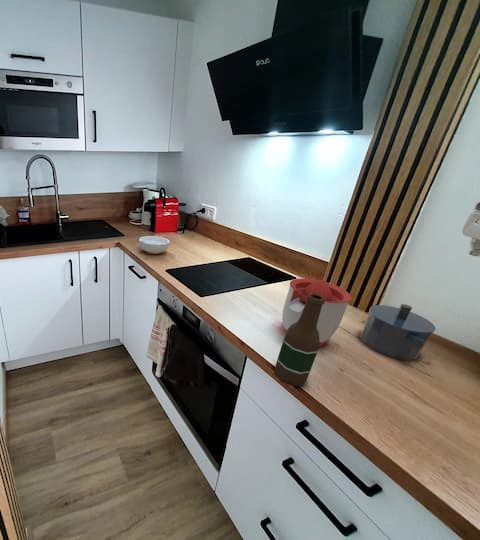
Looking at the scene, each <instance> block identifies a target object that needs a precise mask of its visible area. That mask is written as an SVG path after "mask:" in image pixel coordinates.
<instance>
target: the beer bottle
mask: <svg viewBox="0 0 480 540" xmlns="http://www.w3.org/2000/svg"><path fill="white" fill-rule="evenodd" d="M306 300H307V302H306V304H305V307H304V309H303V311H302V314H301V316H300V318H299V320H298V321H297V322H296V323H294V324H292V325H291V326H290V327H289V328H288V329H287V331H286V334H285V333H284V337H283V340H282V343H281V347H280V350H279V353H278V355H277V359H276V363H275V367H274V371H273V373H274V374H273V375H274V376H276V377H277V379H278V380H279V381H280V382H281V383H283V384H285V385H289V386H291V387H293V388H294V387H301V386H304V385H306V383H307V381H308V378H309V375H310V373H311V370H312V368H313V365H314V362H315V360H316V357H317V354H318V352H319V349H320V346H319V343H320V338H319V332H318V330H317V323H318V319H319V315H320V312H321V308H322V305H323V304H324V298H323V297H322V296H320V295H316V294H309V295H308V296H307V298H306Z"/></svg>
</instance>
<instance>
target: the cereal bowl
mask: <svg viewBox="0 0 480 540" xmlns="http://www.w3.org/2000/svg"><path fill="white" fill-rule="evenodd" d="M138 243H139V247H140V248H141V249H142V250H143V251H145V252H146V253H148V254H152V255H159V254H161V253H164V252H166V251H167V250H168V249H169V247H170V244H171V243H170V240H169V239H168V238H166V237H163V236H158V235H146V236H142V237H140V238H139V241H138Z"/></svg>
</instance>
